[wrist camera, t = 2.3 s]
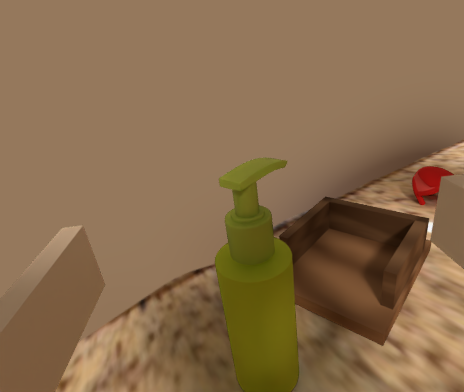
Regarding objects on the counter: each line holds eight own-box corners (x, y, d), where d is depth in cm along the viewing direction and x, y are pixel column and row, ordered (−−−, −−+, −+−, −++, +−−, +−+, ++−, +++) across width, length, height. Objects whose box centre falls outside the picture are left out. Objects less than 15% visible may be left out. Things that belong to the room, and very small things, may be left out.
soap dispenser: (316, 356, 30) (312, 157, 21) (274, 416, 25) (247, 197, 17) (267, 326, 33) (247, 148, 25) (223, 374, 29) (180, 179, 21)
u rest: (330, 223, 50) (330, 190, 48) (429, 250, 41) (436, 210, 39) (264, 289, 39) (260, 249, 36) (382, 345, 30) (387, 298, 27)
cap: (402, 188, 51) (440, 176, 46) (409, 165, 54) (446, 152, 49) (429, 220, 53) (469, 212, 48) (435, 196, 56) (473, 186, 51)
